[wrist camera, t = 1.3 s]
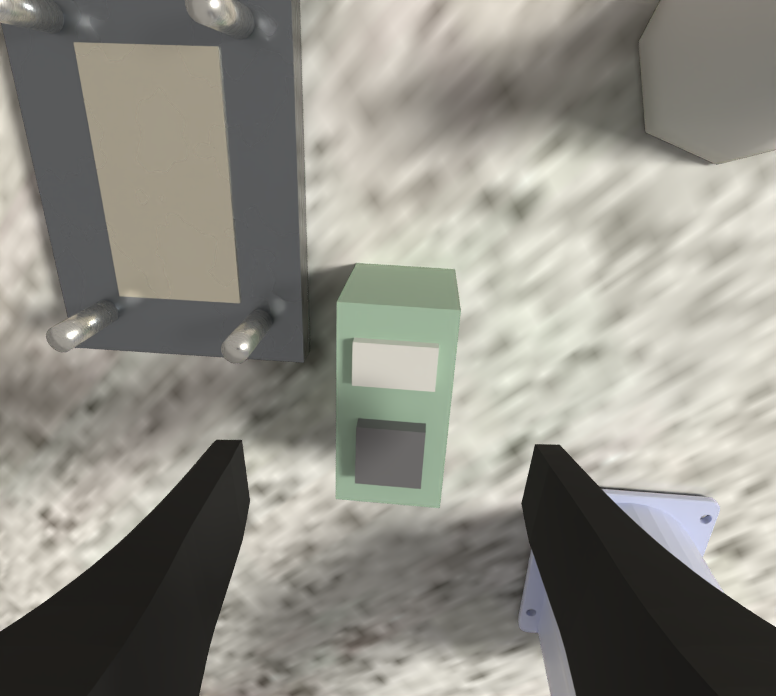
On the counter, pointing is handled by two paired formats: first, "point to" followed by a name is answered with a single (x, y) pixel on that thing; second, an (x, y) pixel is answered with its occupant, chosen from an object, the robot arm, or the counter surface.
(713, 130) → the flask
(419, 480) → the module
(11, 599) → the counter surface
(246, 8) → the chassis
